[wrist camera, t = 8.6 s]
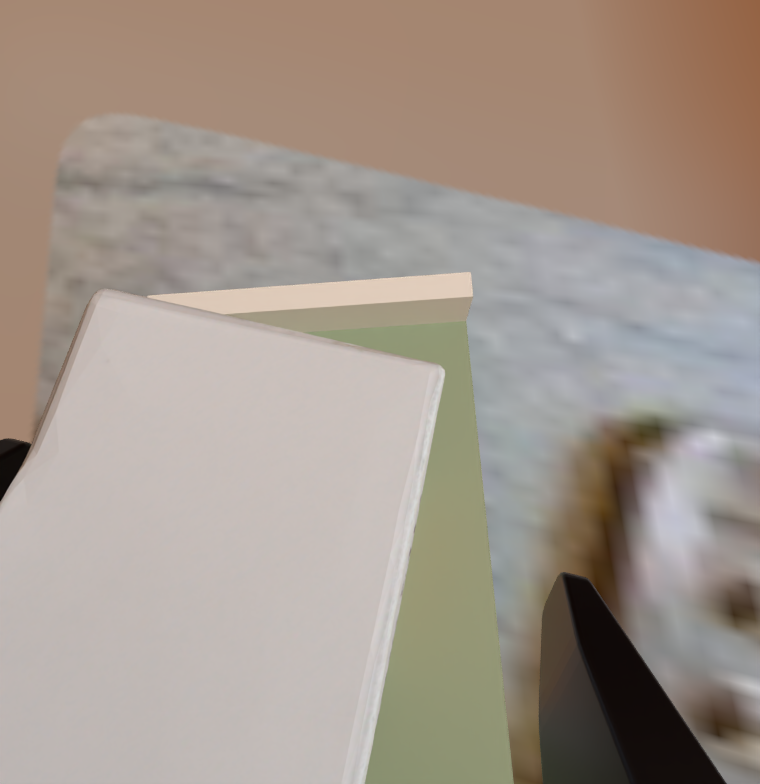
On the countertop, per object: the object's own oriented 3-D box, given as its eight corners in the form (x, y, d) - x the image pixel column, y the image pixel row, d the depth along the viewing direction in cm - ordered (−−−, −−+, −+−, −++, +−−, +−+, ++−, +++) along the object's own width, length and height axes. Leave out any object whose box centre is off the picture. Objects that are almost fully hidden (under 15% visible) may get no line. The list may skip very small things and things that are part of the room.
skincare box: (377, 678, 16) (300, 1100, 4) (238, 640, 16) (-189, 926, 5) (422, 472, 17) (458, 354, 6) (292, 443, 18) (72, 273, 6)
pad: (514, 836, 15) (538, 902, 13) (164, 850, 16) (114, 917, 13) (461, 308, 19) (470, 272, 17) (183, 328, 20) (147, 295, 17)
